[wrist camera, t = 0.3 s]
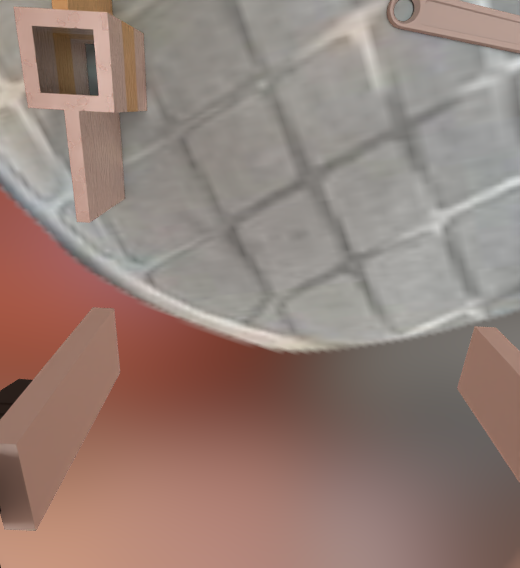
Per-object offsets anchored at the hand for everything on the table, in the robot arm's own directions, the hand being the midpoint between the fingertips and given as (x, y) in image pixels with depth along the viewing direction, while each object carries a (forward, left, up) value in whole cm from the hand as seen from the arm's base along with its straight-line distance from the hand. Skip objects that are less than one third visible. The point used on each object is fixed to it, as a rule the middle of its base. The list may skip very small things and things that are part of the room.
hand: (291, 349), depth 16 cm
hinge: (-10, -15, -27) cm, 33 cm away
